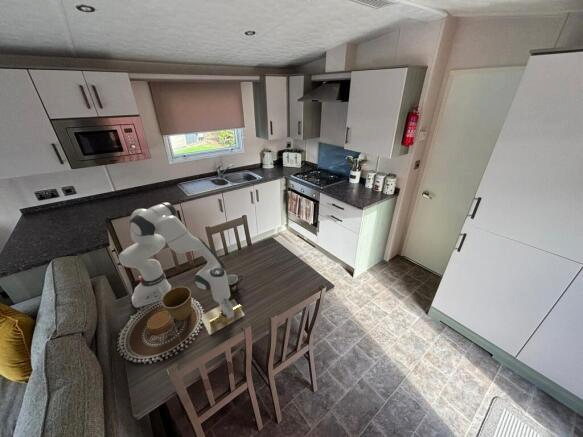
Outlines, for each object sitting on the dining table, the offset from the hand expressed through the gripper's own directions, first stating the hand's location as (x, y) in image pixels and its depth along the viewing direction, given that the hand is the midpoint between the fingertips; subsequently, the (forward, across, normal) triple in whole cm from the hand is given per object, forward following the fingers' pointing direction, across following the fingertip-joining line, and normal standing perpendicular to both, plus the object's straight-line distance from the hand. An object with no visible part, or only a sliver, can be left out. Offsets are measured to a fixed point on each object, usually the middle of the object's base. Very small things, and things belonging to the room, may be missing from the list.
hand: (225, 311), depth 132 cm
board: (+7, +4, +1) cm, 8 cm away
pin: (+6, 0, 0) cm, 6 cm away
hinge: (+6, 0, 0) cm, 6 cm away
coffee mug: (+8, +18, -14) cm, 24 cm away
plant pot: (+8, +18, +20) cm, 28 cm away
